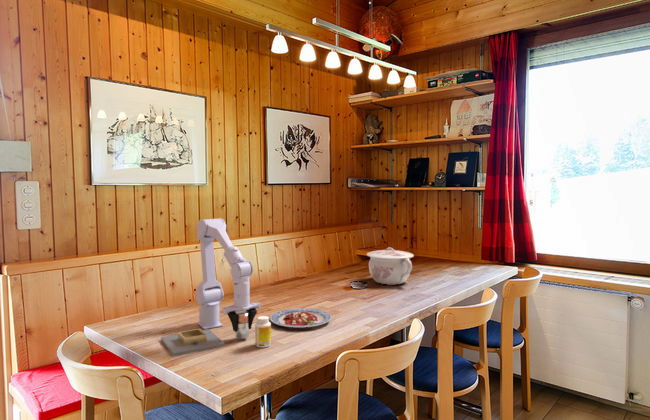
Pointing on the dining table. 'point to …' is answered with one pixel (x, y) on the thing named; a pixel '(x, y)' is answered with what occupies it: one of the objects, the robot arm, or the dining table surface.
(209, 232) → the robot arm
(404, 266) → the chamber pot
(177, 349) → the socket base
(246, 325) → the silver tin
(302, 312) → the ceramic plate
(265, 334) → the supplement bottle
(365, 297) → the dining table surface
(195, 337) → the square hollow frame
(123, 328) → the dining table surface
